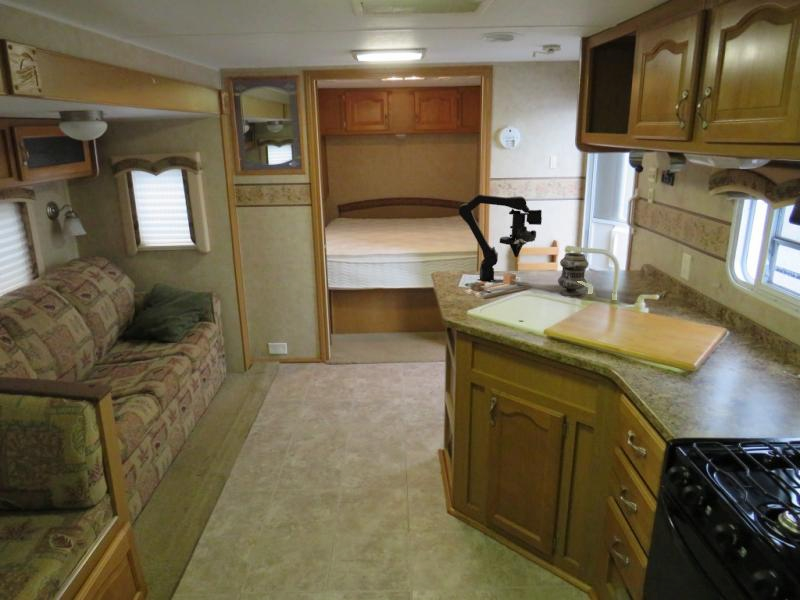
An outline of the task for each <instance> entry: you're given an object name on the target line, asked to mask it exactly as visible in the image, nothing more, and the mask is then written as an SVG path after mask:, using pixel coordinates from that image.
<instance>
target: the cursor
mask: <svg viewBox="0 0 800 600" xmlns="http://www.w3.org/2000/svg"><path fill="white" fill-rule="evenodd" d="M516 278H517V274H514V273H512V272H509V273H504V274H503V279H502V280H503V281H502V282H503V283H507V284H513V283H515V282H518V283H523V280H519V279H516Z"/></svg>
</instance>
